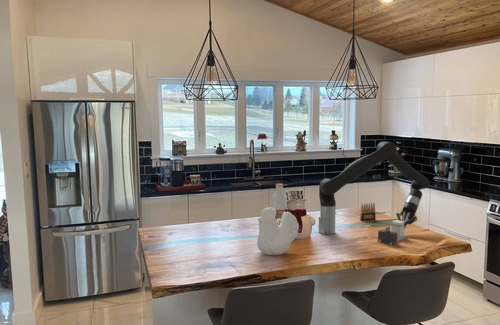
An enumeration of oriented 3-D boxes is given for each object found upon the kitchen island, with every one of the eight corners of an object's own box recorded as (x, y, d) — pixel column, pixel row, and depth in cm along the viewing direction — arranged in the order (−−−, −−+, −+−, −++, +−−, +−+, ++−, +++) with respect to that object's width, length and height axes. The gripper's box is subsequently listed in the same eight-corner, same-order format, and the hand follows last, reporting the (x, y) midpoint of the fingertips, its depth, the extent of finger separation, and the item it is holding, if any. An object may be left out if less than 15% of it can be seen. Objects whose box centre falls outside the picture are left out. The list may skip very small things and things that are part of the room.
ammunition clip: (361, 220, 270) (361, 203, 269) (360, 220, 272) (360, 203, 271) (375, 219, 273) (376, 202, 271) (374, 219, 275) (374, 202, 273)
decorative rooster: (262, 260, 198) (262, 212, 195) (252, 250, 213) (252, 205, 210) (307, 254, 206) (308, 208, 203) (295, 245, 220) (295, 201, 217)
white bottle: (269, 225, 261) (269, 183, 258) (281, 223, 265) (282, 182, 262) (276, 229, 252) (276, 185, 249) (289, 227, 257) (289, 184, 253)
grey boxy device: (392, 236, 235) (393, 219, 233) (407, 240, 228) (408, 222, 227) (377, 244, 222) (378, 225, 220) (393, 247, 215) (393, 228, 214)
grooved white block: (395, 234, 232) (396, 219, 231) (404, 236, 229) (404, 221, 228) (391, 236, 229) (391, 221, 228) (400, 238, 225) (400, 223, 224)
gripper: (399, 199, 242) (389, 223, 234) (420, 203, 232) (411, 227, 225) (402, 206, 246) (392, 230, 239) (424, 210, 237) (414, 234, 229)
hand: (401, 228), depth 232 cm, fingers closed
